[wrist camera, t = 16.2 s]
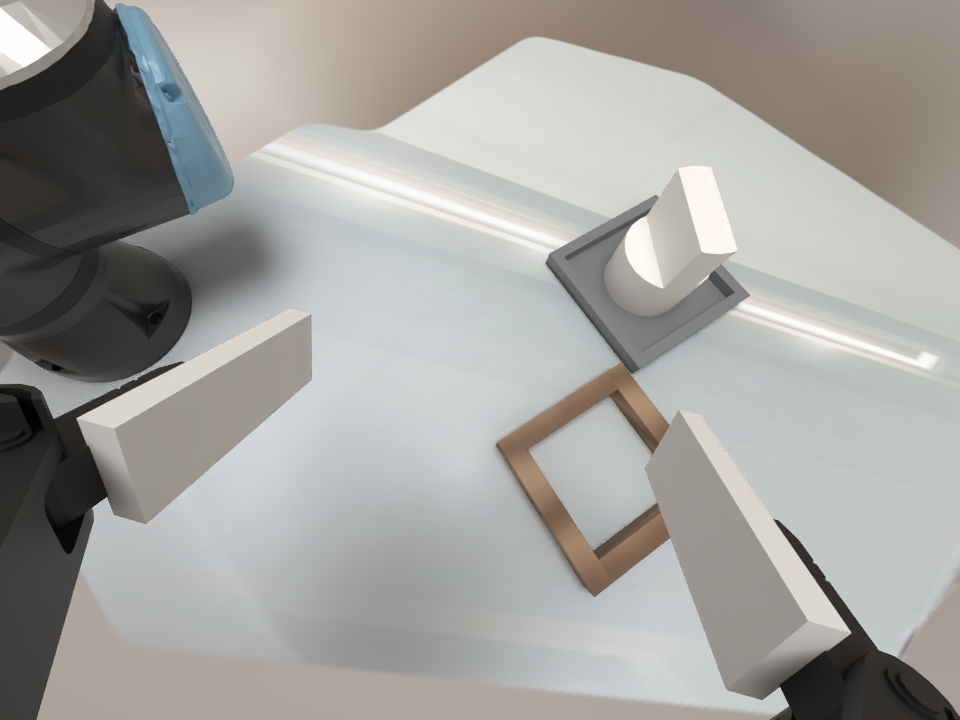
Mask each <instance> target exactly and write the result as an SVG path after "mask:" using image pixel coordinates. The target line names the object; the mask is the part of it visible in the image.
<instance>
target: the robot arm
mask: <svg viewBox="0 0 960 720" xmlns="http://www.w3.org/2000/svg"><path fill="white" fill-rule="evenodd" d="M233 185H234V177H233V173H232V170H231V167H230V164H229V162H228V159H227V157H226V155H225V153H224V150H223V148H222V146H221V144H220V142H219V140H218V138H217V136H216V133H215V131H214V129H213V128H212V125H211V124H210V121H209V120H208V117H207V116H206V114H205V112H204V110H203V108H202V106H201V104H200V102H199V100H198V98H197V96H196V95H195V93H194V91H193V89H192V87H191V85H190V83H189V81H188V80H187V78H186V76H185V74H184V72H183V71H182V69H181V67H180V65H179V63H178V62H177V60H176V58H175V56H174V55H173V53H172V51H171V50H170V48H169V46H168V45H167V43H166V41H165V40H164V38H163V37H162V35H161V33H160V32H159V30H158V29H157V28H156V27H155V25H154V24H153V23H152V21H151V19H150V17H149V16H148V15H147V14H146V13H145V12H144V11H143V10H142V9H140V8H138V7H136V6H125V5H124V4H120V3H119V4H116V8H115V9H114V10H112V9H110V8H109V7H108V6H107V4H106V3H105V2H104V1H103V0H0V342H2V343H3V344H5V345H6V346H8V347H10V348H11V349H13V350H14V351H16V352H18V353H19V354H21V355H22V356H24V357H26V358H27V359H29V360H30V361H32V362H34V363H35V364H37V365H38V366H40V367H42V368H43V369H45V370H47V371H50V372H52V373H55V374H58V375H61V376H66V377H70V378H74V379H78V380H82V381H88V382H106V381H113V380H118V379H121V378H125V377H128V376H130V375H133V374H135V373H137V372H140V371H141V370H143V369H145V368H147V367H148V366H150V365H152V364H153V363H154V362H156V361H157V360H158V359H160V358H161V357H162V356H163V355H164V354H165V353H166V352H167V351H168V350H169V349H170V348H171V347H172V346H173V345H174V344H175V342H176V341H177V340H178V338H179V337H180V335H181V333H182V332H183V330H184V328H185V326H186V323H187V321H188V318H189V314H190V309H191V294H190V289H189V286H188V283H187V281H186V279H185V278H184V276H183V275H182V274H181V272H180V271H179V270H178V269H177V268H176V267H174V266H173V265H172V264H170V263H169V262H167V261H166V260H164V259H163V258H161V257H160V256H159V255H157V254H155V253H153V252H151V251H149V250H147V249H145V248H142V247H138V246H134V245H131V244H128V243H125V242H123V241H120V240H119V239H122V238H124V237H127V236H130V235H133V234H135V233H138V232H141V231H144V230H146V229H149V228H152V227H155V226H157V225H160V224H163V223H166V222H168V221H171V220H174V219H177V218H179V217H182V216H185V215H188V214H191V215H194V214H195V213H197V211H198V209H200V208H202V207H205V206H207V205H209V204H212V203H214V202H216V201H219V200H221V199H223V198H225V197H226V196H228V195H229V194H230V193H231V191H232V188H233ZM311 380H312V348H311V314H310V313H306V312H302V311H298V310H294V309H289V310H287V311H285V312H283V313H281V314H279V315H277V316H275V317H273V318H271V319H269V320H267V321H265V322H263V323H261V324H259V325H257V326H255V327H253V328H252V329H250V330H248V331H246V332H244V333H242V334H240V335H238V336H236V337H234V338H232V339H230V340H228V341H226V342H224V343H222V344H220V345H218V346H216V347H214V348H212V349H211V350H209V351H207V352H205V353H203V354H201V355H199V356H197V357H195V358H193V359H191V360H189V361H187V362H179V363H175V364H171V365H168V366H164V367H160V368H157V369H155V370H153V371H151V372H149V373H147V374H145V375H143V376H141V377H139V378H138V379H137V380H136V381H135V380H133V381H131V382H129V383H127V384H125V385H122V386H121V388H120V389H114V390H112V391H110V392H108V393H106V394H104V395H102V396H100V397H98V398H96V399H94V400H92V401H90V402H88V403H86V404H84V405H82V406H80V407H78V408H76V409H74V410H72V411H69V412H67V413H65V414H63V415H61V416H59V417H57V418H55V419H53V417H52V415H51V412H50V410H49V408H48V405H47V403H46V401H45V398H44V396H43V394H42V392H41V391H40V390H38V389H37V388H35V387H33V386H28V385H22V384H0V720H36V719H37V716H38V712H39V709H40V705H41V702H42V698H43V695H44V691H45V688H46V684H47V681H48V677H49V674H50V670H51V667H52V664H53V660H54V656H55V653H56V650H57V646H58V643H59V639H60V636H61V632H62V629H63V625H64V622H65V618H66V615H67V612H68V608H69V604H70V601H71V597H72V594H73V590H74V587H75V584H76V580H77V577H78V573H79V570H80V566H81V563H82V559H83V556H84V553H85V549H86V546H87V542H88V539H89V535H90V532H91V528H92V525H93V521H94V515H93V510H92V507H94V506H95V505H96V504H98V503H99V502H100V501H102V500H103V499H104V498H106V497H107V498H108V500H109V503H110V506H111V508H112V511H113V513H114V515H116V516H120V517H123V518H127V519H130V520H134V521H137V522H141V523H144V524H147V523H148V522H149V521H150V520H151V519H152V518H154V517H155V516H156V515H157V514H158V513H159V512H160V511H162V510H163V509H164V508H165V507H166V506H167V505H168V504H170V503H171V502H172V501H173V500H174V499H175V498H176V497H178V496H179V495H180V494H181V493H182V492H183V491H184V490H186V489H187V488H188V487H189V486H190V485H191V484H193V483H194V482H195V481H196V480H197V479H198V478H199V477H201V476H202V475H203V474H204V473H205V472H206V471H207V470H209V469H210V468H211V467H212V466H213V465H214V464H215V463H217V462H218V461H219V460H220V459H221V458H222V457H223V456H225V455H226V454H227V453H228V452H229V451H230V450H231V449H233V448H234V447H235V446H236V445H237V444H238V443H240V442H241V441H242V440H243V439H244V438H245V437H246V436H248V435H249V434H250V433H251V432H252V431H253V430H254V429H256V428H257V427H258V426H259V425H260V424H261V423H262V422H264V421H265V420H266V419H267V418H268V417H269V416H270V415H272V414H273V413H274V412H275V411H276V410H277V409H279V408H280V407H281V406H282V405H283V404H284V403H285V402H287V401H288V400H289V399H290V398H291V397H292V396H293V395H295V394H296V393H297V392H298V391H299V390H300V389H301V388H303V387H304V386H305V385H306V384H307V383H308V382H309V381H311ZM645 470H646V473H647V476H648V478H649V481H650V484H651V487H652V489H653V492H654V495H655V497H656V500H657V503H658V506H659V508H660V511H661V514H662V516H663V519H664V522H665V525H666V527H667V530H668V533H669V535H670V538H671V541H672V544H673V546H674V549H675V552H676V555H677V557H678V560H679V563H680V565H681V568H682V571H683V574H684V576H685V579H686V582H687V584H688V587H689V590H690V593H691V595H692V598H693V601H694V603H695V606H696V609H697V612H698V614H699V617H700V620H701V622H702V625H703V628H704V631H705V633H706V636H707V639H708V641H709V644H710V647H711V650H712V652H713V655H714V658H715V660H716V663H717V666H718V669H719V671H720V674H721V677H722V679H723V682H724V685H725V688H726V690H729V691H732V692H736V693H739V694H743V695H746V696H750V697H753V698H757V699H760V700H763V699H764V698H766V697H767V696H768V695H770V694H771V693H772V692H774V691H775V690H776V689H778V688H779V687H781V689H782V692H783V694H784V696H785V698H786V700H787V702H788V704H789V707H787V708H786V709H785V710H783V711H782V712H780V713H779V714H777V715H776V716H774V717H773V718H772V719H770V720H960V717H959V715H958V714H957V713H956V711H955V710H954V708H953V707H952V705H951V704H950V703H949V701H948V700H947V699H946V698H945V697H944V696H943V695H942V694H941V693H940V692H939V691H938V690H937V689H936V688H935V687H934V686H933V685H932V684H931V683H930V682H929V681H928V680H927V679H925V678H924V677H923V676H922V675H921V674H919V673H918V672H917V671H916V670H914V669H913V668H912V667H910V666H909V665H907V664H906V663H904V662H903V661H901V660H899V659H898V658H896V657H894V656H892V655H890V654H887V653H884V652H882V651H879V650H878V649H877V647H876V646H875V644H874V643H873V642H872V640H871V639H870V638H869V636H868V635H867V633H866V632H865V631H864V629H863V628H862V627H861V625H860V624H859V622H858V621H857V620H856V618H855V617H854V615H853V614H852V613H851V611H850V610H849V609H848V607H847V606H846V604H845V603H844V602H843V600H842V599H841V598H840V596H839V595H838V593H837V592H836V591H835V589H834V588H833V586H832V585H831V584H830V582H828V581H826V580H825V578H826V577H825V575H824V574H823V573H822V571H821V570H820V569H819V567H818V566H817V564H814V563H813V559H812V557H811V556H810V555H809V553H808V552H807V551H806V549H805V548H804V546H803V545H802V544H801V542H800V541H799V540H798V539H797V538H796V537H795V536H794V535H793V534H792V533H791V532H790V531H789V530H788V529H787V528H786V527H785V526H784V525H783V524H782V523H781V522H780V521H778V520H775V519H772V517H771V516H770V514H769V513H768V511H767V510H766V509H765V507H764V506H763V504H762V503H761V501H760V500H759V498H758V497H757V496H756V494H755V493H754V491H753V490H752V488H751V487H750V485H749V484H748V483H747V481H746V480H745V478H744V477H743V475H742V474H741V472H740V471H739V470H738V468H737V467H736V465H735V464H734V462H733V461H732V459H731V458H730V457H729V455H728V454H727V452H726V451H725V449H724V448H723V446H722V445H721V443H720V442H719V441H718V439H717V438H716V436H715V435H714V433H713V432H712V430H711V429H710V428H709V426H708V425H707V423H706V422H705V420H704V419H703V417H702V416H701V415H697V414H693V413H689V412H686V411H682V410H678V412H677V414H676V416H675V417H674V419H673V421H672V423H671V424H670V426H669V428H668V429H667V431H666V433H665V435H664V436H663V438H662V440H661V441H660V443H659V445H658V447H657V448H656V450H655V452H654V454H653V455H652V457H651V459H650V460H649V462H648V464H647V466H646V467H645Z"/></svg>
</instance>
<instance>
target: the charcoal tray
mask: <svg viewBox="0 0 960 720" xmlns="http://www.w3.org/2000/svg"><path fill="white" fill-rule="evenodd" d="M658 198H659V197H658V196H657V195H655V196H653V197H651V198H649V199H648V200H646V201H644V202H642V203H640V204H639V205H637V206H635V207H633V208H631V209H629V210H628V211H626V212H624V213H622V214H620V215H619V216H617V217H615V218H613V219H611V220H610V221H608V222H606V223H604V224H602V225H600V226H599V227H597V228H595V229H593V230H591V231H590V232H588V233H586V234H584V235H582V236H581V237H579V238H577V239H575V240H573V241H571V242H570V243H568V244H566V245H564V246H562V247H561V248H559V249H557V250H555V251H553V252H551V253H550V254H549V257H548V259H547V262H546V264H547V265H548V267H549V268H550V269H551V270H552V272H553V273H554V274H555V276H556V277H557V278H558V279H559V281H560V282H561V283H562V285H563V286H564V287H565V289H566V290H567V291H568V292H569V294H570V295H571V296H572V298H573V299H574V300H575V301H576V303H577V304H578V305H579V307H580V308H581V309H582V310H583V312H584V313H585V314H586V316H587V317H588V318H589V320H590V321H591V322H592V323H593V325H594V326H595V327H596V329H597V330H598V331H599V332H600V334H601V335H602V336H603V338H604V339H605V340H606V341H607V343H608V344H609V345H610V347H611V348H612V349H613V351H614V352H615V353H616V354H617V356H618V357H619V358H620V360H621V361H622V362H623V363H624V365H625V366H626V367H627V369H628V370H629V371H630V372H631V374H632V373H633V372H635V371H636V370H638V369H640V368H641V367H643V366H644V365H646V364H647V363H649V362H650V361H652V360H653V359H655V358H656V357H658V356H659V355H661V354H662V353H664V352H665V351H667V350H668V349H670V348H671V347H673V346H675V345H676V344H678V343H679V342H681V341H682V340H684V339H685V338H687V337H688V336H690V335H691V334H693V333H694V332H696V331H697V330H699V329H700V328H702V327H703V326H705V325H706V324H708V323H709V322H711V321H712V320H714V319H716V318H717V317H719V316H720V315H722V314H723V313H725V312H726V311H728V310H729V309H731V308H732V307H734V306H735V305H737V304H738V303H740V302H741V301H743V300H744V299H746V298H747V297H749V296H750V295H749V294H748V293H747V291H746V290H745V289H744V288H743V287H742V286H741V285H740V284H739V283H738V282H737V281H736V280H735V279H734V278H733V276H732V275H731V274H730V273H729V272H728V271H727V270H726V269H725V268H724V267H723V266H722V265H720V266H719V267H718V268H716V269H715V270H714V271H713V272H712V273H710V275H709V277H708V278H707V279H706V280H705V281H704V282H703V283H701V284H700V285H699V286H698V287H697V288H695V289H694V290H693V291H692V292H691V293H689V294H688V295H687V296H686V297H685V298H683V299H682V300H681V301H680V302H679V303H677V304H676V305H675V306H674V307H673V308H671V309H670V310H669V311H667V312H665V313H663V314H661V315H657V316H651V317H648V316H639V315H635V314H632V313H629V312H628V311H626V310H624V309H622V308H621V307H619V306H618V305H617V304H616V303H615V302H614V301H613V300H612V298H611V297H610V295H609V294H608V292H607V290H606V287H605V284H604V271H605V267H606V265H607V263H608V262H609V260H610V259H611V257H612V255H613V254H614V252H615V251H616V249H617V248H618V246H619V245H620V243H621V241H622V240H623V238H624V237H625V235H626V234H627V232H628V231H629V229H630V228H631V226H632V225H633V224H634V223H635V222H636V221H638V220H639V219H640V218H643V217H645V216H647V214H648V213H649V211H650V210H651V208H652V207H653V205H654V204H655V203H656V201H657V200H658Z"/></svg>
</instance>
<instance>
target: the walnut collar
mask: <svg viewBox="0 0 960 720" xmlns="http://www.w3.org/2000/svg"><path fill="white" fill-rule="evenodd" d="M608 395H610V396H611V398H612V399H613V400H614V402H615V403H616V404H617V406H618V407H619V408H620V410H621V411H622V413H623V414H624V415H625V417H626V418H627V419H628V421H629V422H630V423H631V425H632V426H633V427H634V429H635V430H636V431H637V433H638V434H639V435H640V437H641V438H642V439H643V441H644V442H645V444H646V445H647V446H648V448H649V449H650V450H651V452H652V453H653V454H654V452H655V450H656V448H657V447H658V445H659V443H660V441H661V440H662V438H663V436H664V435H665V433H666V431H667V429H668V428H669V426H670V425H669V424H668V423H667V421H666V420H665V419H664V417H663V416H662V415H661V414H660V412H659V411H658V410H657V408H656V407H655V406H654V404H653V403H652V402H651V401H650V399H649V398H648V397H647V395H646V394H645V393H644V392H643V390H642V389H641V388H640V386H639V385H638V384H637V382H636V381H635V380H634V379H633V377H632V376H631V375H630V373H629V372H628V371H627V369H626V368H625V367H624V366H623V364H622V363H620V364H618V365H616V366H615V367H613V368H612V369H610V370H609V371H607V372H606V373H604V374H603V375H601V376H599V377H598V378H596V379H595V380H593V381H592V382H590V383H589V384H587V385H586V386H584V387H582V388H581V389H579V390H578V391H576V392H575V393H573V394H572V395H570V396H569V397H567V398H565V399H564V400H562V401H561V402H559V403H558V404H556V405H555V406H553V407H552V408H550V409H548V410H547V411H545V412H544V413H542V414H541V415H539V416H538V417H536V418H535V419H533V420H531V421H530V422H528V423H527V424H525V425H524V426H522V427H521V428H519V429H518V430H516V431H514V432H513V433H511V434H510V435H508V436H507V437H505V438H504V439H502V440H501V441H499V442H498V443H497V444H496V445H497V447H498V449H499V450H500V452H501V453H502V455H503V457H504V458H505V460H506V461H507V463H508V465H509V466H510V468H511V469H512V471H513V473H514V474H515V476H516V477H517V479H518V481H519V482H520V484H521V485H522V487H523V489H524V490H525V492H526V493H527V495H528V497H529V498H530V500H531V501H532V503H533V505H534V506H535V508H536V509H537V511H538V513H539V514H540V516H541V517H542V519H543V521H544V522H545V524H546V525H547V527H548V529H549V530H550V532H551V533H552V535H553V537H554V538H555V540H556V541H557V543H558V545H559V546H560V548H561V549H562V551H563V553H564V554H565V556H566V557H567V559H568V561H569V562H570V564H571V565H572V567H573V569H574V570H575V572H576V573H577V575H578V577H579V578H580V580H581V581H582V583H583V585H584V586H585V588H586V589H587V590H588V591H589V592H590V593H591V594H592V595H593V596H594V597H595V596H597V595H598V594H599V593H600V592H602V591H603V590H604V589H605V588H607V587H608V586H609V585H611V584H612V583H613V582H614V581H616V580H617V579H618V578H619V577H621V576H622V575H623V574H625V573H626V572H627V571H628V570H630V569H631V568H632V567H633V566H635V565H636V564H637V563H639V562H640V561H641V560H642V559H644V558H645V557H646V556H648V555H649V554H650V553H651V552H653V551H654V550H655V549H656V548H658V547H659V546H660V545H662V544H663V543H664V542H665V541H667V540H668V539H669V538H670V535H669V533H668V530H667V527H666V525H665V522H664V519H663V516H662V514H661V511H660V508H659V506H658V503H657V504H655V505H654V506H653V507H651V508H650V509H649V510H647V511H646V512H645V513H644V514H642V515H641V516H640V517H638V518H637V519H636V520H634V521H633V522H632V523H630V524H629V525H628V526H626V527H625V528H624V529H622V530H621V531H620V532H618V533H617V534H616V535H614V536H613V537H612V538H610V539H609V540H608V541H606V542H605V543H604V544H602V545H601V546H600V547H598V548H597V549H596V550H595V551H593V550H592V549H591V547H590V546H589V544H588V543H587V541H586V540H585V538H584V537H583V535H582V533H581V532H580V530H579V529H578V527H577V526H576V524H575V523H574V521H573V520H572V518H571V516H570V515H569V513H568V512H567V510H566V509H565V507H564V506H563V504H562V503H561V501H560V499H559V498H558V496H557V495H556V493H555V492H554V490H553V489H552V487H551V486H550V484H549V482H548V481H547V479H546V478H545V476H544V475H543V473H542V472H541V470H540V469H539V467H538V465H537V464H536V462H535V461H534V459H533V458H532V456H531V455H530V453H529V452H528V450H527V449H528V448H530V447H531V446H533V445H534V444H536V443H537V442H539V441H540V440H542V439H543V438H545V437H546V436H548V435H549V434H551V433H552V432H554V431H555V430H557V429H558V428H560V427H561V426H563V425H564V424H566V423H568V422H569V421H571V420H572V419H574V418H575V417H577V416H578V415H580V414H581V413H583V412H584V411H586V410H587V409H589V408H590V407H592V406H593V405H595V404H596V403H598V402H599V401H601V400H602V399H604V398H605V397H607V396H608Z"/></svg>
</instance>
